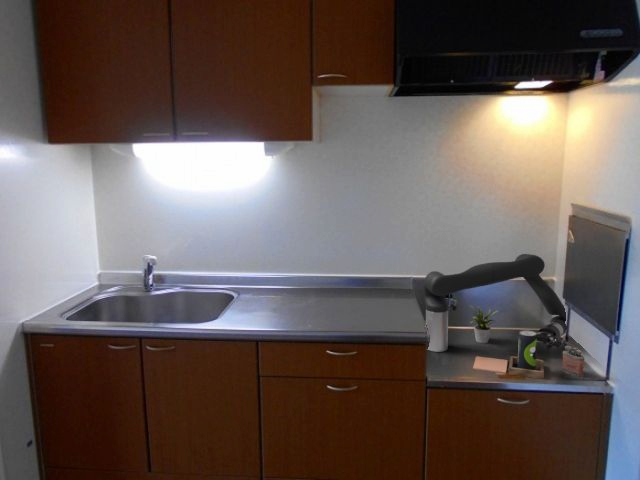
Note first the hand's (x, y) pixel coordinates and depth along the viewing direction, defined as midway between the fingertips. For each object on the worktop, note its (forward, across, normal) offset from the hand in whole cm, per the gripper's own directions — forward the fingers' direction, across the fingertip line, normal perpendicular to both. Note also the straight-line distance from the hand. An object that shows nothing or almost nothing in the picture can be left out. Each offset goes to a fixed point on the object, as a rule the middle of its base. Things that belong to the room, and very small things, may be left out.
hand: (536, 344), depth 196 cm
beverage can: (+10, 0, +8) cm, 13 cm away
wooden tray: (+10, 0, +8) cm, 12 cm away
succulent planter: (+2, +14, +8) cm, 16 cm away
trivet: (+14, -12, +8) cm, 20 cm away
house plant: (-8, -28, +8) cm, 30 cm away
